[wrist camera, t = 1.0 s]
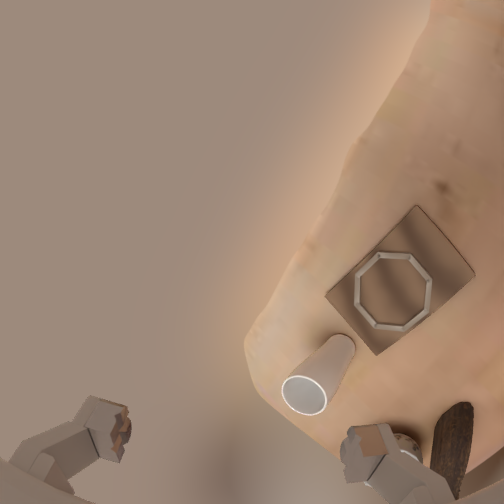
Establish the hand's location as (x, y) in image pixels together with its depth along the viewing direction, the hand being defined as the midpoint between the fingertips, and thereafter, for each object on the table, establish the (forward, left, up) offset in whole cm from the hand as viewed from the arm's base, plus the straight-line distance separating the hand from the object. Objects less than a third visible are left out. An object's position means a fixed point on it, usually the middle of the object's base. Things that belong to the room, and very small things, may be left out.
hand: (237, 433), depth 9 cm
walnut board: (+3, +4, -38) cm, 39 cm away
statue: (+10, +31, -38) cm, 51 cm away
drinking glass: (+18, +6, -38) cm, 43 cm away
